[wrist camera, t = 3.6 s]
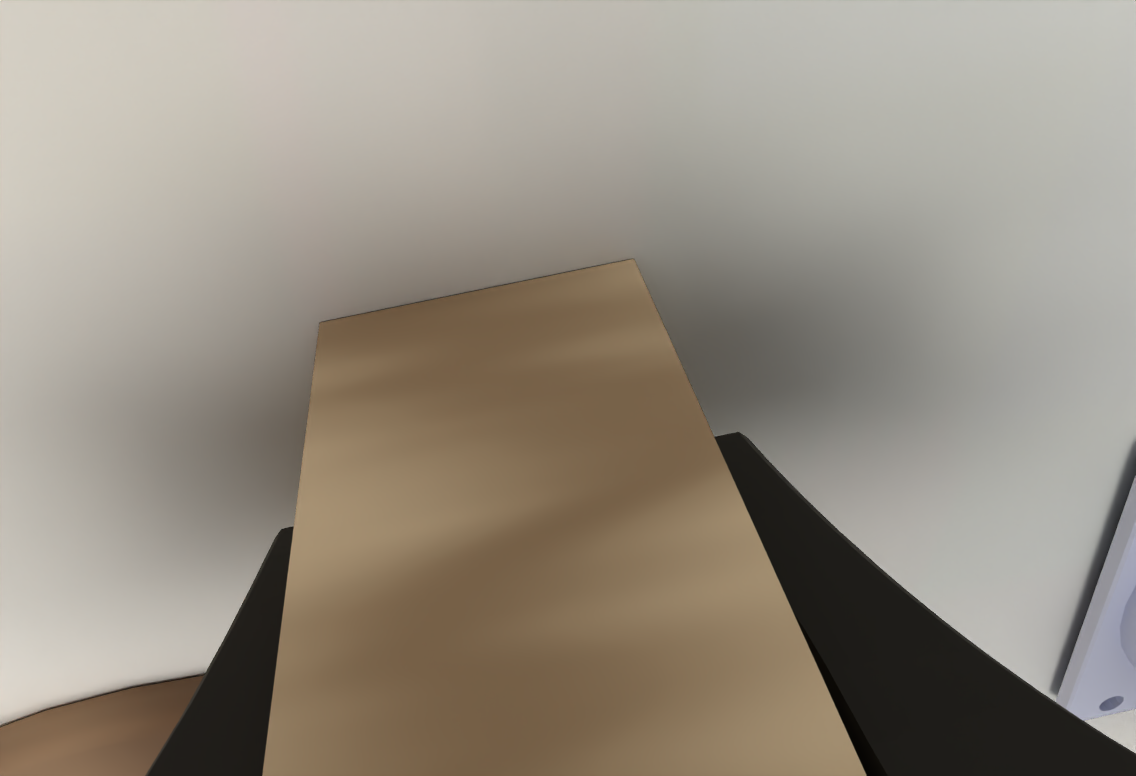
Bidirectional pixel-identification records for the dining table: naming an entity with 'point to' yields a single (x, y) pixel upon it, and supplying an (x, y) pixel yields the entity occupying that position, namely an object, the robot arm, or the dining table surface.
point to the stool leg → (531, 557)
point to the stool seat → (97, 733)
